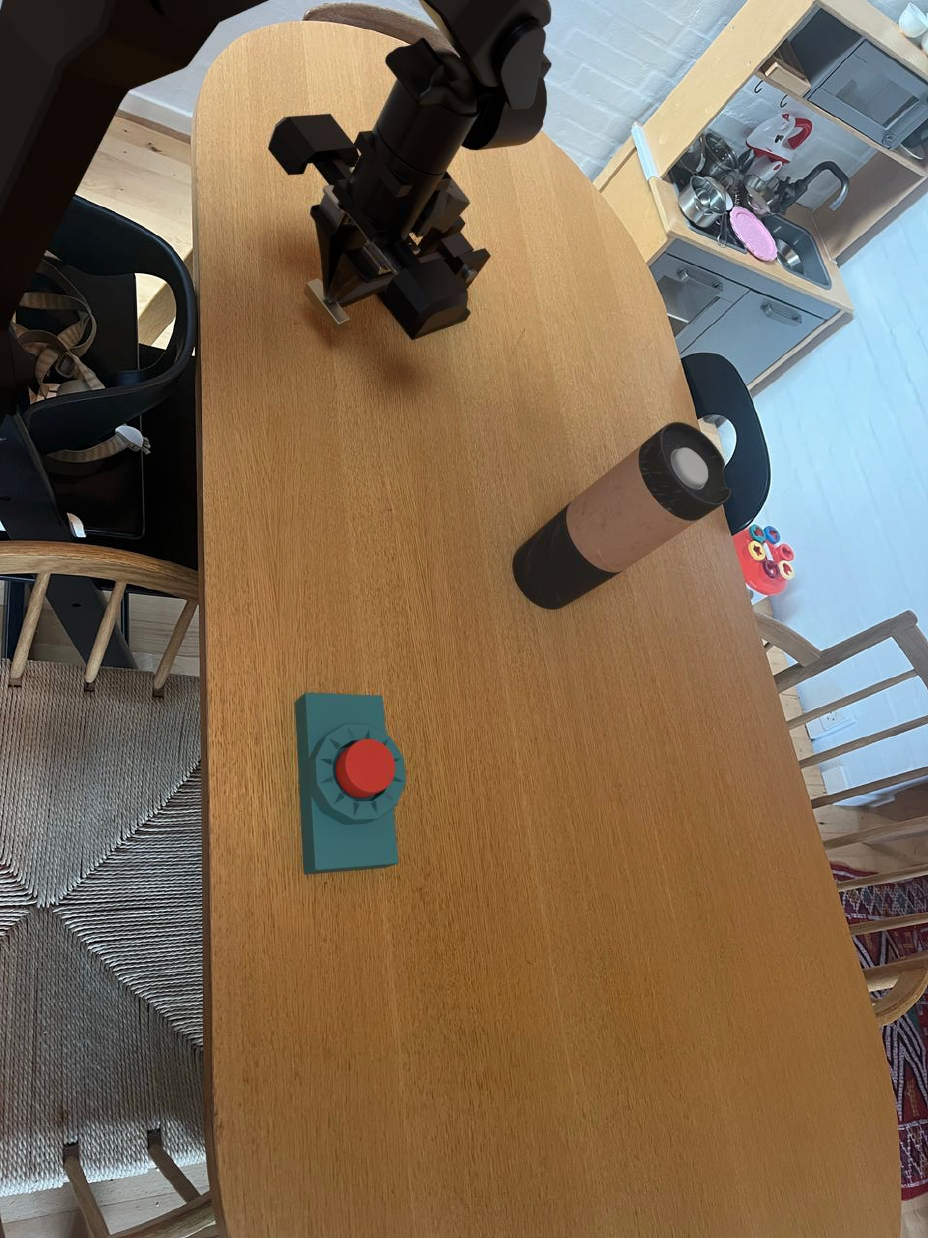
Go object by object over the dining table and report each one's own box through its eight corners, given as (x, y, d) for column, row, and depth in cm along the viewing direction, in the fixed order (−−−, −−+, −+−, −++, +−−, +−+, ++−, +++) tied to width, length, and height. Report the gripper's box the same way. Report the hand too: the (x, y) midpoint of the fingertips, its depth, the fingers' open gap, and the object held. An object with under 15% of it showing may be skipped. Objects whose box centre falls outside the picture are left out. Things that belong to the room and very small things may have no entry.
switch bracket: (412, 340, 78) (455, 276, 71) (369, 285, 78) (409, 216, 71) (465, 320, 84) (511, 259, 77) (426, 269, 84) (468, 203, 77)
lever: (333, 337, 68) (340, 319, 66) (301, 296, 68) (308, 277, 66) (471, 275, 77) (481, 258, 75) (443, 239, 77) (453, 221, 75)
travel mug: (495, 563, 71) (644, 440, 56) (538, 528, 76) (685, 406, 61) (547, 627, 72) (709, 522, 56) (587, 588, 76) (746, 481, 61)
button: (333, 745, 52) (343, 738, 51) (381, 745, 54) (392, 738, 52) (337, 799, 50) (347, 793, 49) (386, 797, 52) (398, 791, 51)
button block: (291, 701, 56) (311, 683, 52) (373, 704, 59) (396, 687, 56) (299, 875, 51) (322, 866, 48) (388, 867, 54) (414, 859, 51)
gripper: (554, 230, 60) (453, 361, 72) (407, 40, 60) (331, 202, 72) (467, 254, 53) (372, 394, 65) (300, 38, 53) (236, 218, 65)
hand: (330, 299), depth 67 cm, fingers closed, pressing on lever
